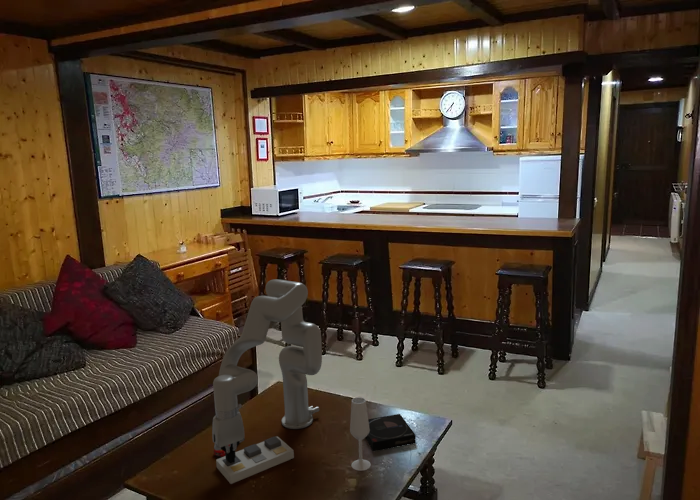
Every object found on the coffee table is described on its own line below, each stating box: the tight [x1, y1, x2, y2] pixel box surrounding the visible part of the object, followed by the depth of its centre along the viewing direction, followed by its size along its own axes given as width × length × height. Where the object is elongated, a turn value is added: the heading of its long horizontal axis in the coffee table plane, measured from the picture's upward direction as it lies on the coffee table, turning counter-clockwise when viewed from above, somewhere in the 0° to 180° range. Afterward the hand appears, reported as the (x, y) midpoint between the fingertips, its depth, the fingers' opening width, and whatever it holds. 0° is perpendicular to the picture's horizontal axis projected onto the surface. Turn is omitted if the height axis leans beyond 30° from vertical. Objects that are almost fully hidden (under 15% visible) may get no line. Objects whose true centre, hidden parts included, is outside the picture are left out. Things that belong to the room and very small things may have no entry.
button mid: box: [243, 443, 261, 458], centre depth 189 cm, size 4×4×3 cm
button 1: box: [223, 457, 240, 466], centre depth 185 cm, size 4×4×3 cm
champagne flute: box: [349, 396, 372, 472], centre depth 182 cm, size 7×7×24 cm
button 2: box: [263, 436, 281, 450], centre depth 194 cm, size 4×4×3 cm
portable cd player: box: [364, 413, 417, 452], centre depth 202 cm, size 16×17×4 cm
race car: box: [213, 443, 241, 458], centre depth 198 cm, size 13×5×4 cm, turn 158°
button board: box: [215, 435, 295, 485], centre depth 188 cm, size 24×12×3 cm, turn 126°
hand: (230, 460), depth 185 cm, fingers closed
